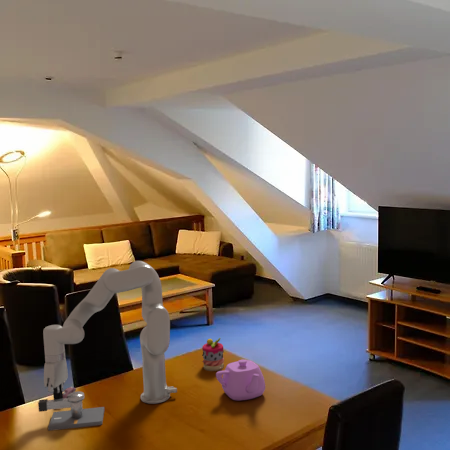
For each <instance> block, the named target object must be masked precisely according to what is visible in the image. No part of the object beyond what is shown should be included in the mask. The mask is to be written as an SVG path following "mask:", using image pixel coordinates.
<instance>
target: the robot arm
mask: <svg viewBox="0 0 450 450" xmlns="http://www.w3.org/2000/svg"><path fill="white" fill-rule="evenodd" d="M162 287H163V286H162V280H161V279H160V277H159V274H158V273H157V271H156V270H155V269H154V267H152V266H151V265H150V264H148V263H147V262H145V261H142V260H134V261H133V262H131V263H130V264H129V268H128V269H125V270H119V269H117V268H114V267H113V268H112V267H110V268H107V269H106V270H105V271H104V272H103V273H102V274H101V276H100V277H99V278H98V280H97V282H95V284H94V285H93V287H92V288H91V289H90V291H89V292H88V294H87V295H86V296H85V297H84V298H83V299H82V300H81V301H80V302H79V303H78V304H77V305H76V306H75V307H74V308H73V310H72V311H71V312H70V313H69V316H67V318H66V319H65V321H64V323H63V325H61V324H51V325H48V326H45V328H43V333H42V335H43V346H44V347H43V348H44V361H45V363H44V366H43V386H44V388H47V392H49V393H52V395H53V400H55V399H63V393H64V391H63V390H64V385H65V383H66V382H67V379H68V376H69V374H68V373H69V371H68V364H67V363H68V362H67V359H66V349H65V345H76V344H79V343H81V342H82V341H83V339H84V338H85V330H84V328H83V327H84V325H85V324H86V323H87V322H88V320H89V319H90V318H91V317H92V316H93V315H94V314H95V313H97V312H100V311H102V310H103V309H105V308H106V306H107V304H108V303H109V302H110V300H111V299H112V298H113V296H114V295H115V294H118V293H119V294H120V293H124V292H129V291H132V290H137V289H140V288H141V317H142V319H143V321H144V322H145V323H146V326H144V327H143V329H142V330H141V331H140V334H139V343H140V350H141V359H142V364H141V365H142V378H143V379H142V380H143V392H142V393H141V394H140V400H141V402H143V403H145V404H152V405H154V404H160V403H163V402H166V401H168V400H169V399H170V398H171V394H172V393H175V394H176V393H178V388H177V387H174V386H169V385H167V378H166V377H167V376H166V358H165V357H166V356H165V353H166V352H167V351H168V349H169V347H170V338H171V333H170V332H171V319H170V313H169V311H168V310H167V308H165V307H164V304H163V288H162Z"/></svg>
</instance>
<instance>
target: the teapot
mask: <svg viewBox="0 0 450 450" xmlns="http://www.w3.org/2000/svg"><path fill="white" fill-rule="evenodd" d="M262 372H263V371H262V370H261V368H260V366H259V365H258V364H257V363H255V362H254V361H253V360H250V359H245V358H244V359H238V361H233V362H230V363H228V364H227V365H226V367H225V368H224V370H218V371H217V372H216V373H215V378H216V379H217V381H218V382H219V384H220V385H221V387H222V389H223V391H224V393H225V395H226V396H227V397H229V398H230V399H231V400H233V401H247V400H253V399H256V398H258V397H260V396H263V394H264V392H265V391H266V383H265V382H266V381H265V378H264V375H263V373H262Z"/></svg>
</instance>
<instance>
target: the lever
mask: <svg viewBox="0 0 450 450" xmlns="http://www.w3.org/2000/svg"><path fill="white" fill-rule="evenodd" d="M84 400H85V393H84V392H83V391H75V392H72V393H70V394H68V396H67V398H65V399H55V400H54V399H48V398H46V399H39V400H38V402H37V405H38V406H37V407H38V412H39V413H40V412H41V413H42V412H47V411H48V410H58V409H69V408H70V410H71V417H72V418H74V419H76V418H80V417H82V416H83V409H84V408H83V401H84Z"/></svg>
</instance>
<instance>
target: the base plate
mask: <svg viewBox="0 0 450 450" xmlns="http://www.w3.org/2000/svg"><path fill="white" fill-rule="evenodd" d="M82 409H83V416H82V417H80V418H76V419H74V418H72V417H71V409H70V410H61V411H59V410H58V411H53V413H52V416H51V419H50V420H49V424H48V426H47V429H48V431H56V430H65V429H67V430H68V429H75V428H85V427H95V426H103V421H104V414H105V406H99V407H89V408H82Z"/></svg>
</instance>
